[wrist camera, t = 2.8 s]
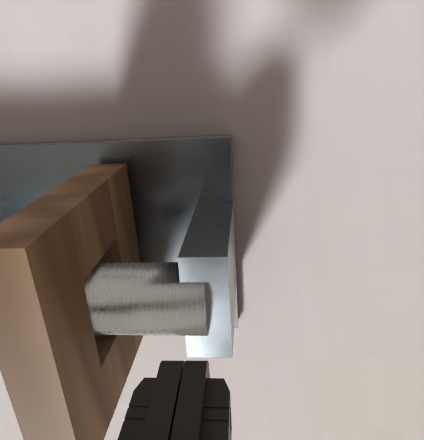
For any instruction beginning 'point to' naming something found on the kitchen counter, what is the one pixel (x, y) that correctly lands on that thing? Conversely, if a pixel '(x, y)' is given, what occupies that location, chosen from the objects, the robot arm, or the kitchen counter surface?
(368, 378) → the kitchen counter surface
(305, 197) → the kitchen counter surface
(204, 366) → the robot arm
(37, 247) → the collar
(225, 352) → the rail
